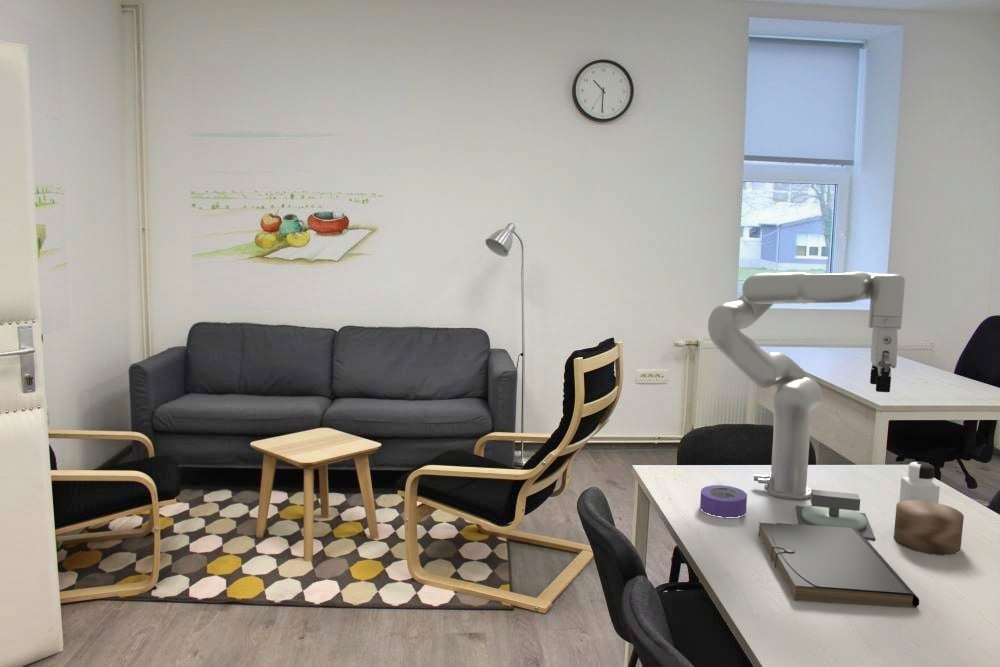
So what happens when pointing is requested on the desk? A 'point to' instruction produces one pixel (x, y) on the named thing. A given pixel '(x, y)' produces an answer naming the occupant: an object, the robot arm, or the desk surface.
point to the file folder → (834, 566)
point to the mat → (866, 532)
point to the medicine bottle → (919, 483)
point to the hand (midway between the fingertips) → (879, 387)
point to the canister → (928, 527)
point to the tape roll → (723, 501)
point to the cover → (834, 510)
